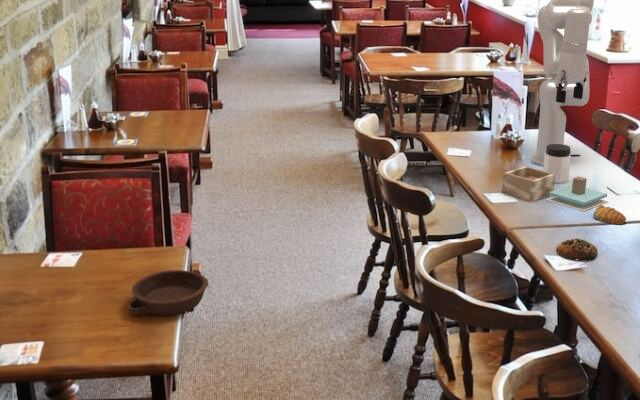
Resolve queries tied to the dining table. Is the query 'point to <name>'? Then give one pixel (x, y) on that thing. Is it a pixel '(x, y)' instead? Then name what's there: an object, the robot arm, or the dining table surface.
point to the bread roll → (577, 249)
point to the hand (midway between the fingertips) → (569, 100)
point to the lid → (578, 193)
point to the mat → (585, 208)
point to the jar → (558, 161)
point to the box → (528, 183)
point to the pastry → (609, 215)
